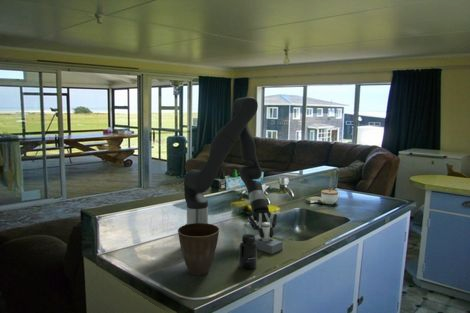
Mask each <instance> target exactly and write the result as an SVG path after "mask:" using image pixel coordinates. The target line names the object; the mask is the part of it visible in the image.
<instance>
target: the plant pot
mask: <svg viewBox="0 0 470 313" xmlns="http://www.w3.org/2000/svg"><path fill="white" fill-rule="evenodd" d="M186 224H187V223H186ZM177 233H178V239H179V246H180V248H181V249H180V251H181V252H182V257H183V260H184V262H185V266H186V267H187V271H188V273H189V274H191V275H193V276H204V275H206V274H208V273H209V271H210V269H211V265H212V264H213V260H214V257H215V253H216V250H217V245H218V240H219V233H220V228H219V227H218V225H215V224H212V223H208V224H207V223H193V224H187V225H185V224H184V225H182V226H180V227H178V229H177Z"/></svg>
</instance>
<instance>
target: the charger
mask: <svg viewBox="0 0 470 313" xmlns="http://www.w3.org/2000/svg"><path fill="white" fill-rule="evenodd" d="M262 229H263V233H264V238H261V241H262V242H265V243H267V242H270V223H269V222H262Z"/></svg>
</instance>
